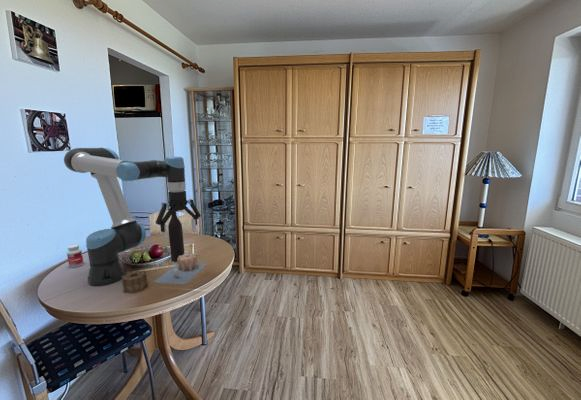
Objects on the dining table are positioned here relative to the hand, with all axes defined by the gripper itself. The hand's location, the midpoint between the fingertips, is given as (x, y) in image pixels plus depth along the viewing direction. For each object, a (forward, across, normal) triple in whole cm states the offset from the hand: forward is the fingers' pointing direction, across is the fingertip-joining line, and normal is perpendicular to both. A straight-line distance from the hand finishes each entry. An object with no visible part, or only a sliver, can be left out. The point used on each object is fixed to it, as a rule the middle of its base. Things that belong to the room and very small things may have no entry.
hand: (180, 235), depth 126 cm
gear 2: (+21, +6, +7) cm, 23 cm away
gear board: (+22, +1, +4) cm, 22 cm away
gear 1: (+22, -20, +6) cm, 30 cm away
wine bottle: (+22, +6, +22) cm, 32 cm away
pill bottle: (+23, -35, +56) cm, 70 cm away
